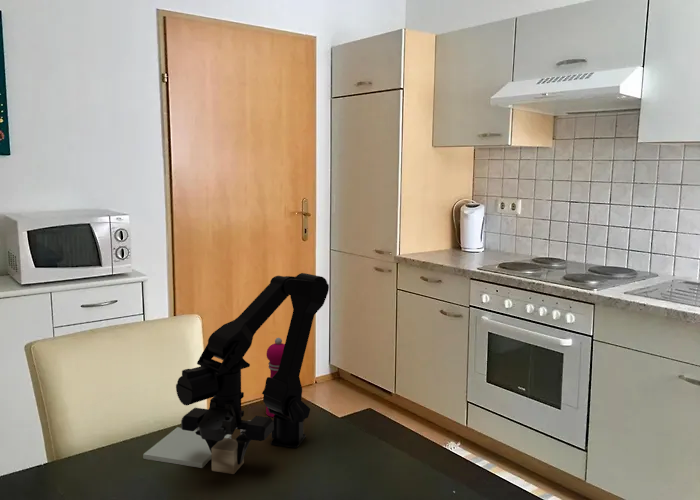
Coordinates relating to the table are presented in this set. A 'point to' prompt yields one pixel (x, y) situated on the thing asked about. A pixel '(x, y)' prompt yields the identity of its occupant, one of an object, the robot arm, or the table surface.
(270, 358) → the pepper mill
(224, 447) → the birch cube
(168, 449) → the sage plate
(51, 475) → the table surface
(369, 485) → the table surface
